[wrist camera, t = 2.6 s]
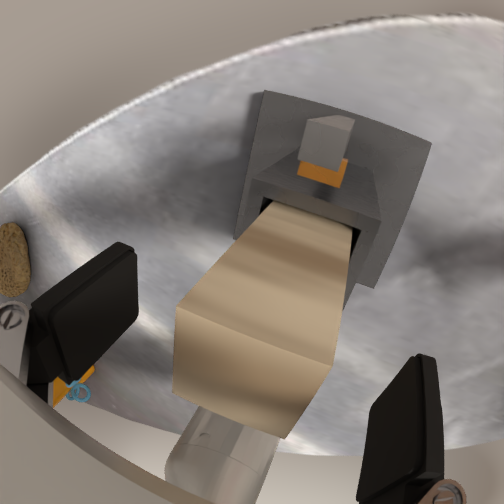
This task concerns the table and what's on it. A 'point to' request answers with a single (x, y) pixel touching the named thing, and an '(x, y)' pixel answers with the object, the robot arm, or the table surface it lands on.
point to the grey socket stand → (334, 175)
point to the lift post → (265, 320)
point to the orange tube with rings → (71, 388)
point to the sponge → (13, 261)
